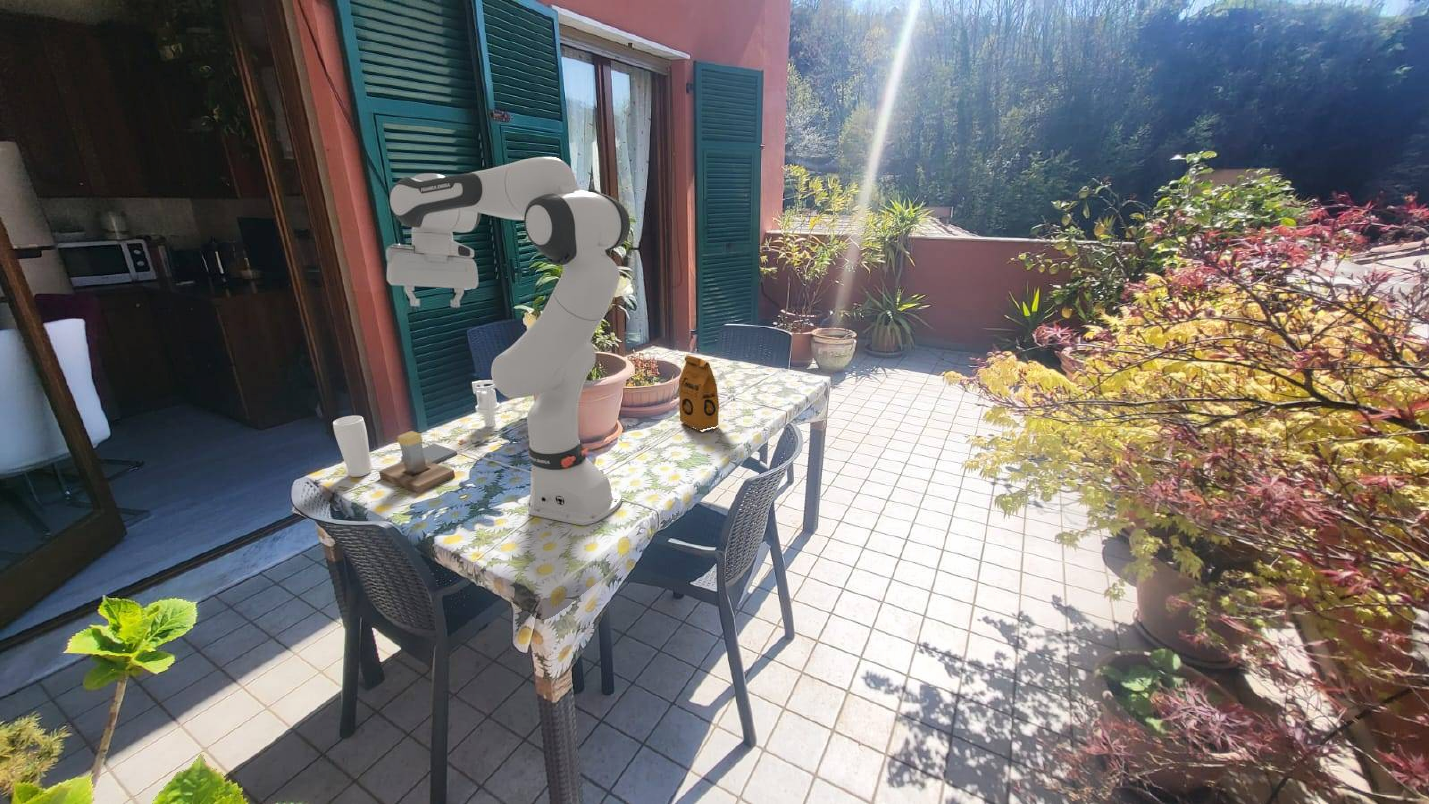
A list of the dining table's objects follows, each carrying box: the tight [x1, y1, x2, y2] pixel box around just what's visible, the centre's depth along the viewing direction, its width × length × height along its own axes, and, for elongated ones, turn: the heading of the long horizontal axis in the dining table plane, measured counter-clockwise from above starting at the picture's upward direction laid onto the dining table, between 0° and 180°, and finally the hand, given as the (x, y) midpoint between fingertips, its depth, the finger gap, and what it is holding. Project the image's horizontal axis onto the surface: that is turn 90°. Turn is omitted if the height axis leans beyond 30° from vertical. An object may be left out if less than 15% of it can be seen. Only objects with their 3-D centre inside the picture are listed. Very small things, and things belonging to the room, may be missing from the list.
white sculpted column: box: [471, 379, 501, 428], centre depth 176 cm, size 7×7×15 cm
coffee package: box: [678, 354, 720, 431], centre depth 175 cm, size 10×12×22 cm
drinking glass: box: [332, 415, 373, 478], centre depth 146 cm, size 7×7×15 cm
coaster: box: [400, 443, 458, 464], centre depth 157 cm, size 10×10×1 cm
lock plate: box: [378, 460, 456, 494], centre depth 146 cm, size 16×10×2 cm, turn 60°
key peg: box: [396, 430, 427, 477], centre depth 144 cm, size 4×4×12 cm
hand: (435, 306), depth 136 cm, fingers open, 8 cm apart
